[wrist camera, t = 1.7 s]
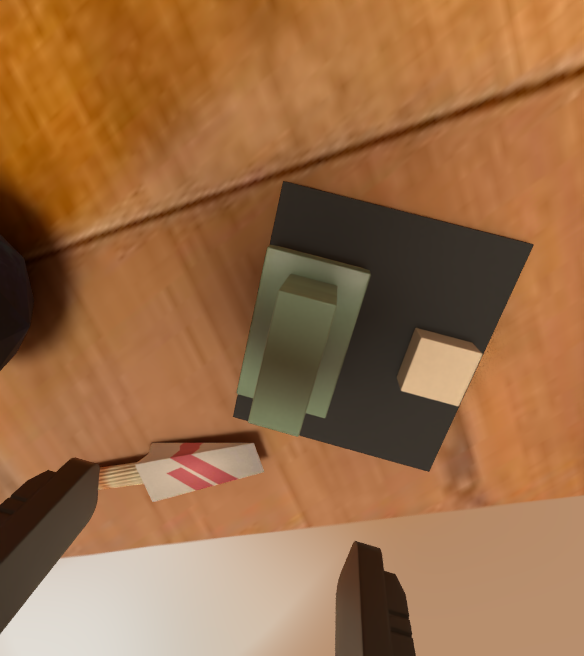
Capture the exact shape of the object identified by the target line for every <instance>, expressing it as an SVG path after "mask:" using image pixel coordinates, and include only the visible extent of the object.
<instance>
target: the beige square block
mask: <svg viewBox="0 0 584 656" xmlns="http://www.w3.org/2000/svg"><path fill="white" fill-rule="evenodd" d="M481 357H482V353H481V352H480V351H479V349H478V348H477V347H476V346H475V345H474V344H473V343H471V342H468V341H464V340H460V339H456V338H453V337H449V336H445V335H441V334H438V333H434V332H430V331H426V330H422V329H419V328H415V330H414V333H413V336H412V338H411V341H410V343H409V346H408V349H407V351H406V354H405V357H404V359H403V362H402V365H401V367H400V370H399V372H398V375H397V381H398V384H399V387H400V390H401V391H403V392H407V393H411V394H414V395H418V396H422V397H425V398H429V399H433V400H436V401H440V402H444V403H448V404H451V405H455V406H459V405H460V402H461V400H462V398H463V396H464V394H465V391H466V389H467V387H468V385H469V383H470V381H471V378H472V376H473V374H474V372H475V370H476V368H477V365H478V363H479V361H480V359H481Z"/></svg>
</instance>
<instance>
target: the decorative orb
mask: <svg viewBox="0 0 584 656" xmlns="http://www.w3.org/2000/svg"><path fill="white" fill-rule="evenodd" d="M33 305H34V298H33V294H32V290H31V285H30V281H29V277H28V272H27V268H26V264H25V259H24V258H23V257H22V256H21V255H20V254H19V253H18V252H17V251H16V250H15V249H14V248H13V247H12V245H11V244H10V243H9V242H8V241H7V240H6V239H5V238H4V237H3V236H2V235H1V234H0V371H1V370H2V368H3V367H4V366H5V365H6V364H7V363H8V362H9V361H10V360H11V358H12V357H13V356H14V355H15V354H16V353H17V351H18V349H19V347H20V345H21V343H22V341H23V339H24V337H25V335H26V333H27V331H28V329H29V327H30V323H31V317H32V311H33Z"/></svg>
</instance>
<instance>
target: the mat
mask: <svg viewBox="0 0 584 656" xmlns="http://www.w3.org/2000/svg"><path fill="white" fill-rule="evenodd" d="M270 245H275V246H280V247H284V248H288V249H291V250H295V251H299V252H303V253H307V254H311V255H314V256H318V257H322V258H326V259H330V260H334V261H337V262H341V263H345V264H349V265H353V266H357V267H361V268H363V269H367V270H369V271H370V273H371V276H370V279H369V282H368V286H367V289H366V292H365V295H364V298H363V301H362V304H361V308H360V311H359V314H358V317H357V320H356V323H355V327H354V330H353V333H352V336H351V339H350V342H349V345H348V349H347V352H346V355H345V358H344V361H343V364H342V368H341V371H340V374H339V377H338V380H337V383H336V386H335V390H334V393H333V396H332V399H331V402H330V405H329V408H328V412H327V415H326V417H325V418H322V417H318V416H315V415H311V414H307V413H306V414H305V417H304V420H303V424H302V427H301V431H300V434H299V435H300V436H303V437H307V438H310V439H314V440H317V441H321V442H325V443H328V444H332V445H335V446H339V447H342V448H346V449H350V450H353V451H357V452H360V453H364V454H367V455H371V456H375V457H378V458H382V459H385V460H389V461H392V462H396V463H400V464H403V465H407V466H410V467H414V468H417V469H421V470H425V471H428V472H429V471H430V469H431V466H432V464H433V462H434V460H435V458H436V456H437V453H438V451H439V449H440V447H441V445H442V443H443V440H444V438H445V436H446V434H447V432H448V430H449V427H450V425H451V423H452V421H453V419H454V417H455V414H456V412H457V410H458V408H459V406H460V405H459V406H455V405H451V404H448V403H444V402H440V401H436V400H433V399H429V398H425V397H422V396H418V395H414V394H411V393H407V392H403V391H401V390H400V387H399V384H398V381H397V375H398V372H399V370H400V367H401V365H402V362H403V359H404V357H405V354H406V351H407V349H408V346H409V343H410V341H411V338H412V336H413V333H414V330H415V328H419V329H422V330H426V331H430V332H434V333H438V334H441V335H445V336H449V337H453V338H456V339H460V340H464V341H468V342H471V343H473V344H474V345H475V346H476V347H477V348H478V349H479V351H480V352H481V353H482V356H483V354H484V351H485V349H486V347H487V345H488V343H489V341H490V338H491V336H492V334H493V332H494V330H495V328H496V325H497V323H498V321H499V319H500V317H501V315H502V312H503V310H504V308H505V306H506V304H507V302H508V299H509V297H510V295H511V293H512V291H513V289H514V286H515V284H516V282H517V280H518V278H519V276H520V273H521V271H522V269H523V267H524V265H525V263H526V260H527V258H528V256H529V254H530V252H531V250H532V247H533V244H530V243H526V242H522V241H518V240H514V239H510V238H506V237H502V236H498V235H495V234H491V233H487V232H483V231H479V230H475V229H471V228H467V227H463V226H459V225H455V224H451V223H447V222H443V221H439V220H435V219H431V218H427V217H423V216H419V215H416V214H412V213H408V212H404V211H400V210H396V209H392V208H388V207H384V206H380V205H376V204H372V203H368V202H364V201H360V200H356V199H352V198H348V197H344V196H341V195H337V194H333V193H329V192H325V191H321V190H317V189H313V188H309V187H305V186H301V185H297V184H293V183H289V182H285V181H283V185H282V189H281V194H280V199H279V203H278V208H277V213H276V217H275V222H274V227H273V232H272V236H271V241H270ZM481 358H482V357H481ZM480 360H481V359H480ZM479 362H480V361H479ZM478 364H479V363H478ZM477 367H478V365H477ZM476 369H477V368H476ZM475 371H476V370H475ZM474 373H475V372H474ZM473 375H474V374H473ZM472 378H473V376H472ZM472 378H471V380H472ZM470 382H471V381H470ZM469 384H470V383H469ZM468 386H469V385H468ZM467 388H468V387H467ZM466 391H467V389H466ZM466 391H465V393H466ZM464 395H465V394H464ZM463 397H464V396H463ZM462 399H463V398H462ZM461 401H462V400H461ZM252 402H253V398H250V397H246V396H243V395H239V394H238V396H237V401H236V405H235V410H234V415H233V417H235V418H239V419H242V420H246V421H248V419H249V415H250V411H251V406H252ZM460 404H461V402H460Z"/></svg>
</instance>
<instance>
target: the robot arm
mask: <svg viewBox="0 0 584 656" xmlns="http://www.w3.org/2000/svg"><path fill="white" fill-rule="evenodd" d="M99 472H100V467H99V465H98V464H95V463H92V462H89V461H85V460H82V459H78V458H72V459H70V460H69V461H68V462H66V463H65V464H64V465H63V466H62V467H61V468H60V469H59V470H58V471H57V472H53V471H50V470H47V471H45V472H43V473H41V474H39V475H37V476H35V477H34V478H32V479H30V480H28V481H27V482H25V483H24V484H23V485H22V486H21V487H20V488H19V489H18V490H16V491H15V492H14V493H13V494H12V495H11V497H10V498H7V499H6V500H5V501H4V502H3V503H2V504H1V505H0V633H1V632H2V631H3V629H4V628H5V627H6V626H7V625H8V623H9V622H10V621H11V619H12V618H13V617H14V616H15V615H16V613H17V612H18V611H19V609H20V608H21V607H22V606H23V604H24V603H25V602H26V600H27V599H28V598H29V596H30V595H31V594H32V592H34V590H35V589H36V588H37V587H38V585H39V584H40V583H41V581H42V580H43V579H44V578H45V576H46V575H47V574H48V573H49V571H50V570H51V569H52V568H53V566H54V565H55V564H56V562H57V561H58V560H59V559H60V557H61V556H62V555H63V554H64V552H65V551H66V550H67V548H68V547H69V546H70V545H71V543H72V542H73V541H74V540H75V538H76V537H77V536H78V535H79V533H80V532H81V531H82V529H83V528H84V527H85V526H86V524H87V523H88V522H89V520H90V518H91V517H92V515H93V513H94V510H95V508H96V505H97V499H98V485H99ZM335 656H416V655H415V649H414V643H413V638H412V631H411V625H410V620H409V613H408V607H407V600H406V595H405V592H404V591H403V589H402V586H401V585H400V582H399V581H398V578H397V576H396V575H395V574H393V573H389V572H386V571H384V568H383V560H382V553H381V550H380V548H377V547H374V546H370V545H367V544H364V543H360V542H357V541H355V542H354V543H353V545H352V547H351V550H350V552H349V554H348V557H347V559H346V562H345V564H344V566H343V569H342V571H341V574H340V577H339V580H338V585H337V593H336V634H335Z"/></svg>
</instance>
